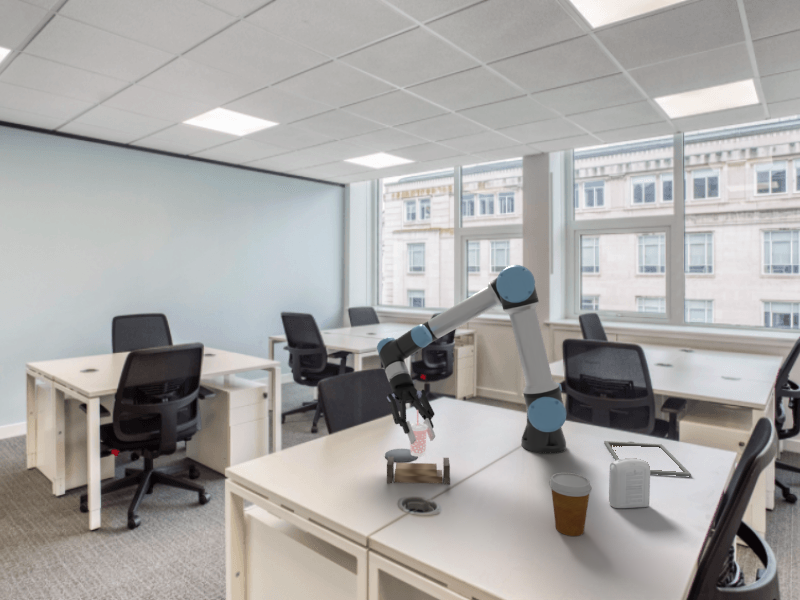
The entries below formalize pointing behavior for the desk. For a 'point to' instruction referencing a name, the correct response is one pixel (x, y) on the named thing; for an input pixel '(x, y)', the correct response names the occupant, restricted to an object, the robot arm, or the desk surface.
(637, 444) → the grey rectangular frame
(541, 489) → the desk surface
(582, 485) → the disposable coffee cup
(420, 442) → the beverage cup
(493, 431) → the desk surface
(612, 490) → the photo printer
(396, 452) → the mat
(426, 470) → the offcut rack
